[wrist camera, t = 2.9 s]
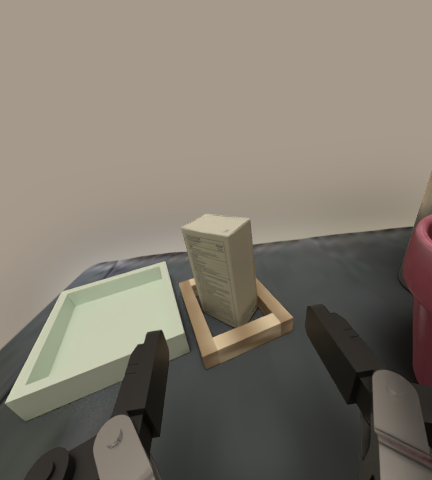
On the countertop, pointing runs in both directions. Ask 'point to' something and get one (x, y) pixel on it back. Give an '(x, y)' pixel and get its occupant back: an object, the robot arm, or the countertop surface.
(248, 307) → the skincare box
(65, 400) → the sage tray
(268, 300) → the wooden frame
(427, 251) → the plant pot
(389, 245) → the countertop surface
